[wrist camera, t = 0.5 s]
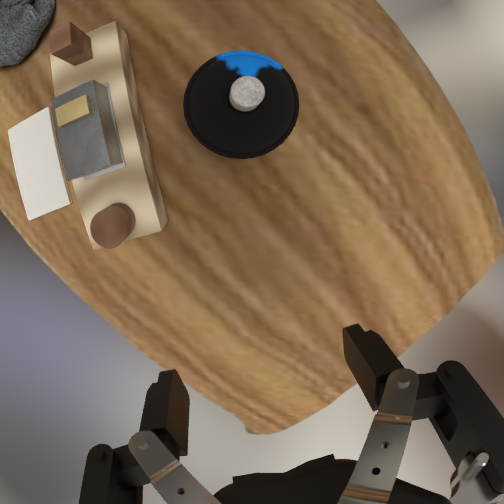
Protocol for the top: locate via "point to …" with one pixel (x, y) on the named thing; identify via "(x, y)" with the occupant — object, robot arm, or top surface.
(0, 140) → the top surface
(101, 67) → the hand plane
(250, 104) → the aerosol can
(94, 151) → the lever cap
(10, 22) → the koala plush
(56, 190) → the rubber mat
